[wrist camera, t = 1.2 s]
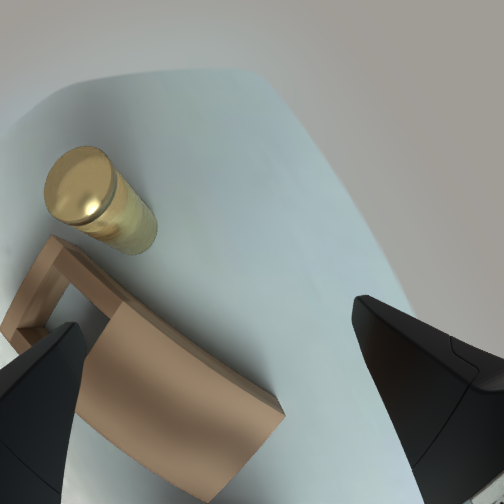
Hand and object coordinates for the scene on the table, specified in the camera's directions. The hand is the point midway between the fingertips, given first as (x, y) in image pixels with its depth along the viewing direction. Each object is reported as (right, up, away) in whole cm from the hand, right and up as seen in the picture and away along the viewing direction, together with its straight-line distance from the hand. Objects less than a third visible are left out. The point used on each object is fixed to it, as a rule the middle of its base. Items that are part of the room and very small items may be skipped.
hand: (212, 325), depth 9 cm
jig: (-8, -7, +12) cm, 16 cm away
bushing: (-8, +4, +14) cm, 17 cm away
